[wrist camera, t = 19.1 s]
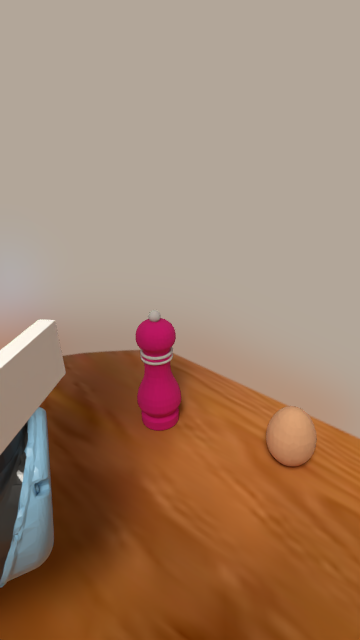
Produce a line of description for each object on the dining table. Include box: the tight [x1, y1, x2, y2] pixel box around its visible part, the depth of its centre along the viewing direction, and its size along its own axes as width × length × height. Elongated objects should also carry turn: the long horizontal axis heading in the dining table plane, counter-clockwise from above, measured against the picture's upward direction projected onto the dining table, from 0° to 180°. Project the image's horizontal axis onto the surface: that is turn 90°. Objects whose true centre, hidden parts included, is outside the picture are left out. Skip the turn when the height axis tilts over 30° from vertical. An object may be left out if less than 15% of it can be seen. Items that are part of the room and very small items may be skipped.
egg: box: [266, 406, 317, 466], centre depth 46 cm, size 7×7×9 cm
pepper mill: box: [136, 310, 181, 431], centre depth 52 cm, size 7×7×20 cm
